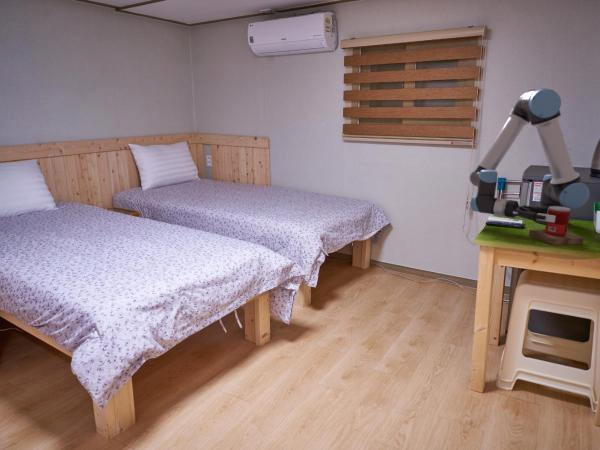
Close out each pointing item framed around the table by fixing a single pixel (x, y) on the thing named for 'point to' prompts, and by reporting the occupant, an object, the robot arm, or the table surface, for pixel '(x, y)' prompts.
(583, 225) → the table surface
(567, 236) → the walnut base
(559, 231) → the canned food
